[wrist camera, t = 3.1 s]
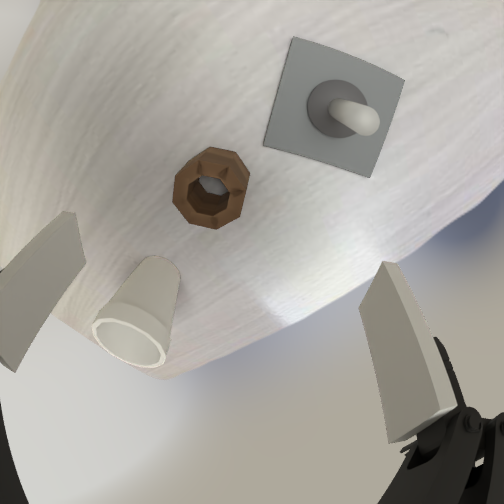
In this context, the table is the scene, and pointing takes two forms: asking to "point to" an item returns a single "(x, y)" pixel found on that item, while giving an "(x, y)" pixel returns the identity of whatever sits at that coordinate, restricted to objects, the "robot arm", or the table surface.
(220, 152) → the brown faceted ring
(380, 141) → the grey peg stand
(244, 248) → the table surface
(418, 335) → the robot arm
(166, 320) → the foam cup
